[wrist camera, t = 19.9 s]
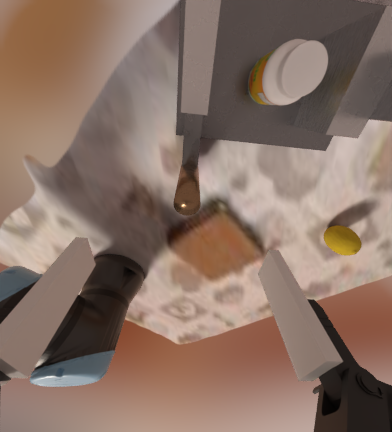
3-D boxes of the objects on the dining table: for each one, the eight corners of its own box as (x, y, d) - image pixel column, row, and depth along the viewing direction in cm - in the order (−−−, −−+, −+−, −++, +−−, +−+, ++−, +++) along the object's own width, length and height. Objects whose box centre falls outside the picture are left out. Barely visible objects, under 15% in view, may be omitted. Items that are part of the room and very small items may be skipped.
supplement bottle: (265, 43, 21) (308, 9, 13) (295, 71, 23) (351, 55, 15) (239, 89, 24) (261, 84, 16) (267, 112, 26) (301, 117, 17)
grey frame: (177, 132, 29) (162, 159, 16) (182, -18, 20) (159, -254, 7) (318, 148, 30) (414, 184, 17) (381, 15, 22) (684, -125, 8)
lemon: (311, 230, 41) (334, 255, 34) (334, 214, 38) (363, 238, 32) (324, 240, 43) (348, 266, 36) (346, 226, 40) (376, 251, 34)
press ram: (180, 175, 31) (173, 214, 20) (188, 19, 20) (182, -71, 10) (197, 176, 31) (198, 216, 20) (214, 23, 20) (235, -61, 10)
